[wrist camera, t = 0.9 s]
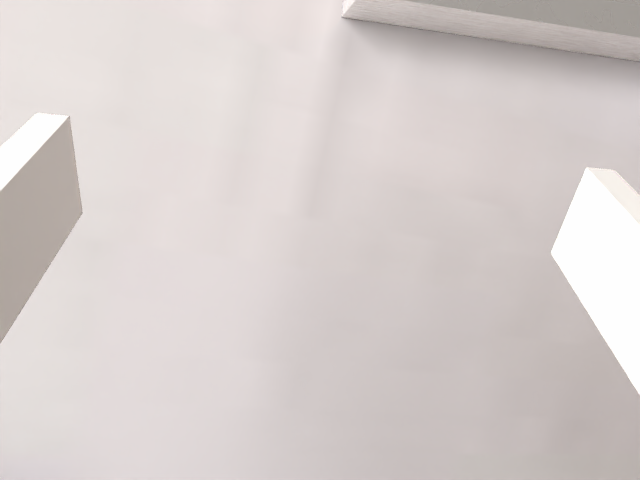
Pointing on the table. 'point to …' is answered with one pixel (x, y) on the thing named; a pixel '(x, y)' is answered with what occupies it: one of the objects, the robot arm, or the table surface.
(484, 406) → the table surface
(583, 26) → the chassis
